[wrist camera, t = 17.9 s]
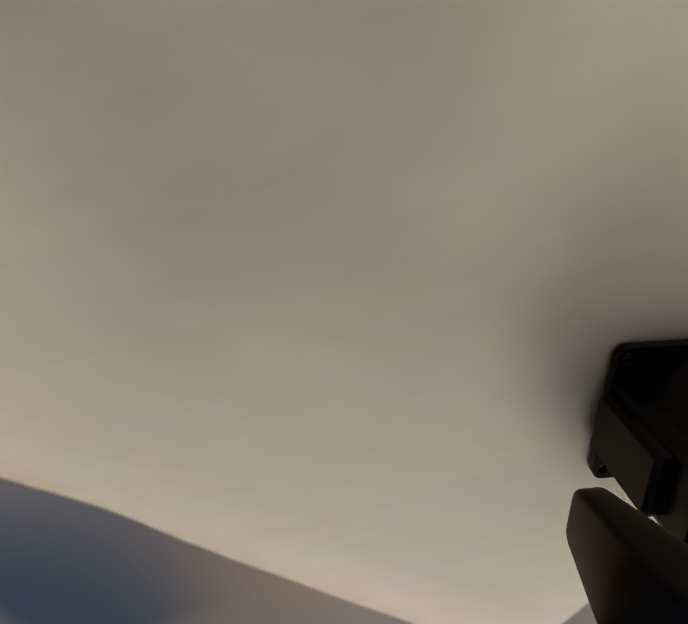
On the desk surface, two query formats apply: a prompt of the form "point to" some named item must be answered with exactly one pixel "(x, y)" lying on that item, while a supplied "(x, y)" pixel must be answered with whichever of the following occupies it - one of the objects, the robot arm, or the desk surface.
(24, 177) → the desk surface
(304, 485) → the desk surface
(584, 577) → the robot arm
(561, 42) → the desk surface
